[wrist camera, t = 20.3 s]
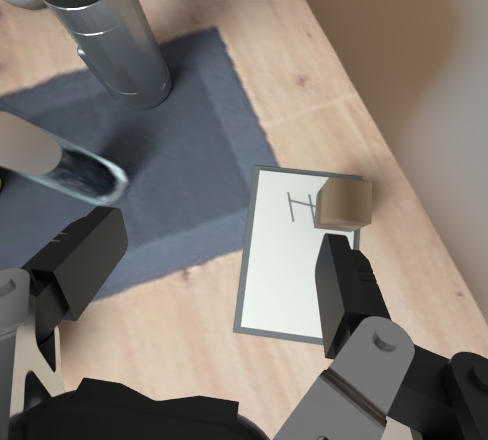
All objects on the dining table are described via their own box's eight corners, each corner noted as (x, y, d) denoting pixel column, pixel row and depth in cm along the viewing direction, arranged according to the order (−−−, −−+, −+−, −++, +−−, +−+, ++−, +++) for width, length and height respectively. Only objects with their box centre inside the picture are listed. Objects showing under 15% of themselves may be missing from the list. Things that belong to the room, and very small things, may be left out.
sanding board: (233, 331, 37) (232, 333, 36) (253, 165, 42) (253, 163, 41) (352, 348, 36) (355, 351, 35) (361, 176, 41) (364, 174, 40)
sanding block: (313, 228, 39) (326, 218, 32) (316, 193, 39) (329, 177, 33) (350, 232, 38) (370, 223, 31) (352, 197, 39) (372, 181, 32)
